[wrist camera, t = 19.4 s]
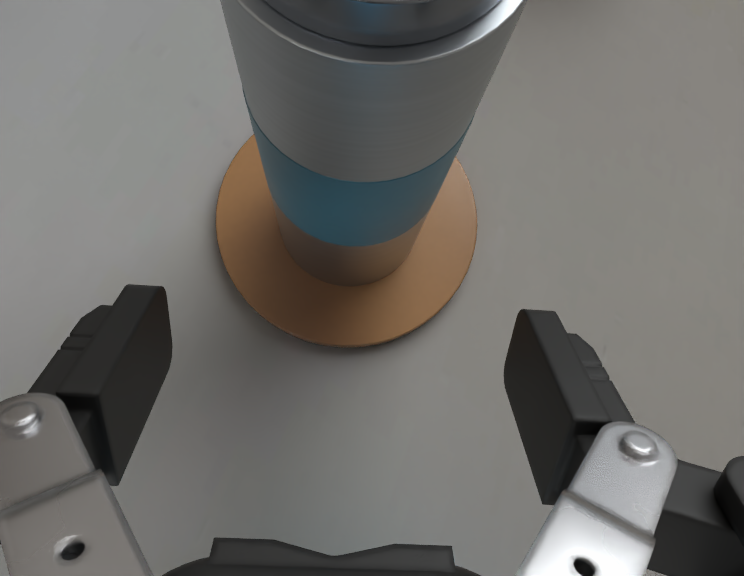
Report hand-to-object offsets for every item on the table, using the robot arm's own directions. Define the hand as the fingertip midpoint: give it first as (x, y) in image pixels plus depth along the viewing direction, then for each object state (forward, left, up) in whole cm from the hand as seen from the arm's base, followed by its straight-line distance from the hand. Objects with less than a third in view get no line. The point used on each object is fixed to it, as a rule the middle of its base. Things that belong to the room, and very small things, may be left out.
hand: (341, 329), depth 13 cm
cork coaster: (0, -6, -10) cm, 12 cm away
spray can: (0, -6, -10) cm, 12 cm away
